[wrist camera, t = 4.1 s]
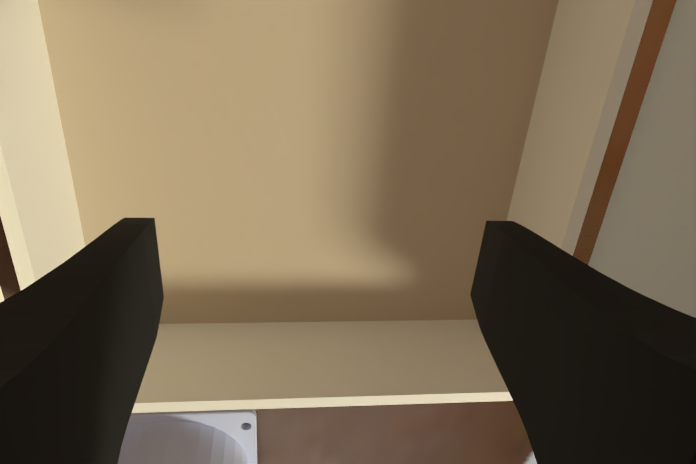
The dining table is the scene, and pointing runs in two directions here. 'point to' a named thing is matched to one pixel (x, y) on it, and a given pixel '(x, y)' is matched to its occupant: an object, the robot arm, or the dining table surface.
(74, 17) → the carton
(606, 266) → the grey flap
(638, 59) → the dining table surface
